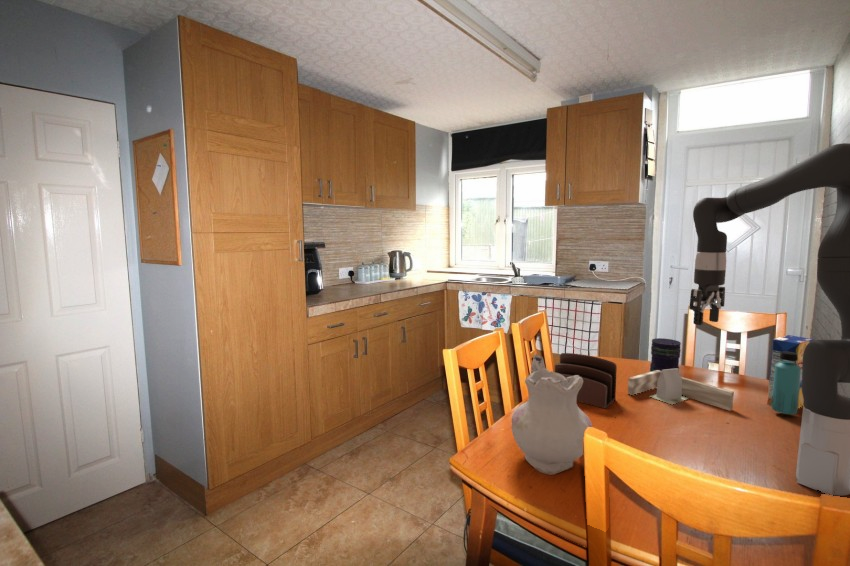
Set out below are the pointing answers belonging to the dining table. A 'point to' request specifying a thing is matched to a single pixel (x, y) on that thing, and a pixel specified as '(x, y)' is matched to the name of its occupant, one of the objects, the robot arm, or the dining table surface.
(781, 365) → the beverage bottle
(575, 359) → the letter holder
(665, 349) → the storage jar
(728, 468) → the dining table surface
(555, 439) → the ceramic pitcher
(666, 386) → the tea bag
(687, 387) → the beige l-shaped piece
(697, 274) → the robot arm
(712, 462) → the dining table surface
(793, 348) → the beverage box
